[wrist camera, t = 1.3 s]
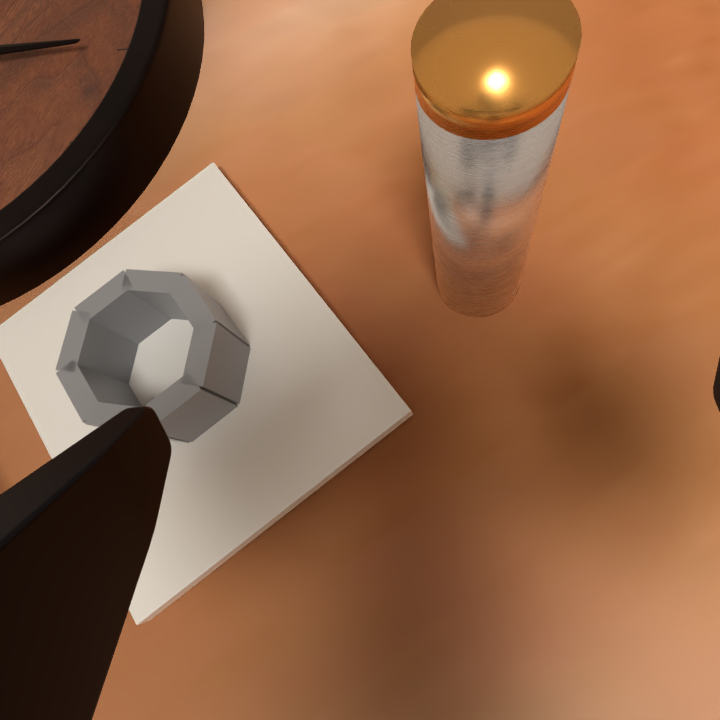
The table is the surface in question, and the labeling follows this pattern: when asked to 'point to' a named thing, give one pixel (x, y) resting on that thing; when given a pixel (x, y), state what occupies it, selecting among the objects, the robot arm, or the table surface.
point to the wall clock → (85, 120)
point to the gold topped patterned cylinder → (489, 135)
